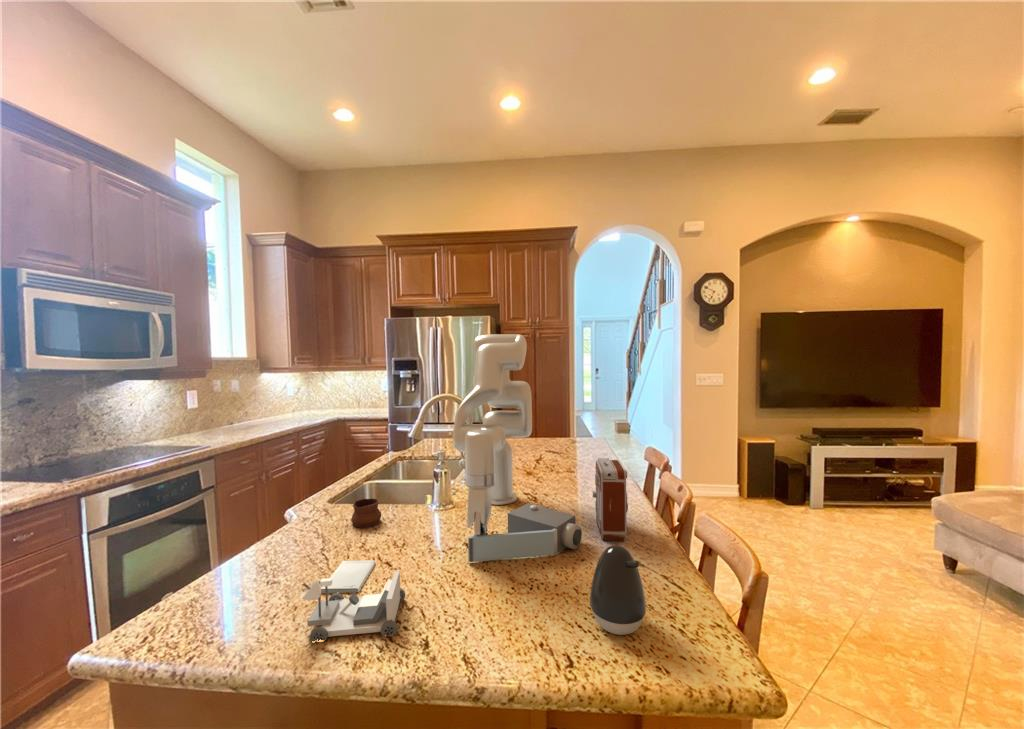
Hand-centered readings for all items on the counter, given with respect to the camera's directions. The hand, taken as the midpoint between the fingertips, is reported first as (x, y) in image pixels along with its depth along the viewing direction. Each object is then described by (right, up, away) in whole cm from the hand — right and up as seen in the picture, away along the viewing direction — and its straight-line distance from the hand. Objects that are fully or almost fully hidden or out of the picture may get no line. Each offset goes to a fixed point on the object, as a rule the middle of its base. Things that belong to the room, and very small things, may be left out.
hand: (481, 549), depth 106 cm
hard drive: (-30, -3, -10) cm, 32 cm away
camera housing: (+17, -1, +8) cm, 19 cm away
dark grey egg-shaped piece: (+28, -2, -28) cm, 40 cm away
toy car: (-23, -3, -26) cm, 34 cm away
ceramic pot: (-37, -2, +22) cm, 43 cm away
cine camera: (+37, -1, +16) cm, 40 cm away
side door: (+8, -1, -2) cm, 9 cm away
